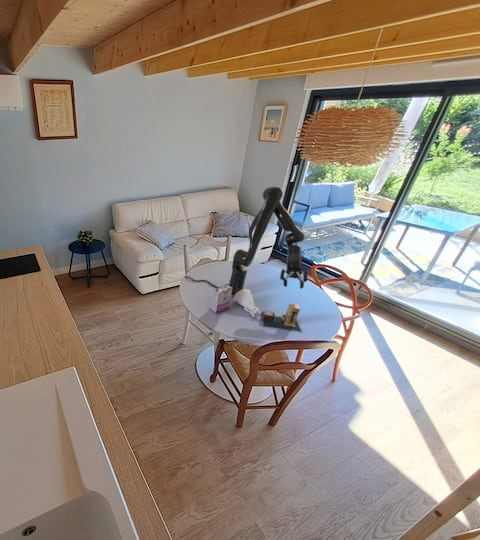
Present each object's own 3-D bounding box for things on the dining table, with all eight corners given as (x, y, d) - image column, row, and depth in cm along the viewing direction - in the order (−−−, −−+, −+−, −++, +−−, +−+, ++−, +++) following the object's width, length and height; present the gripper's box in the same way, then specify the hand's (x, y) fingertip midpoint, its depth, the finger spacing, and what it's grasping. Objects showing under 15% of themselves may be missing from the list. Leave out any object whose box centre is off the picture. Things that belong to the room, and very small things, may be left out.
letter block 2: (272, 322, 173) (274, 316, 171) (271, 317, 177) (273, 311, 174) (280, 323, 172) (283, 317, 170) (279, 318, 176) (281, 312, 173)
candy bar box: (223, 304, 189) (227, 284, 181) (228, 308, 185) (233, 287, 177) (210, 309, 185) (214, 288, 177) (215, 313, 181) (220, 292, 173)
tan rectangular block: (285, 323, 171) (291, 307, 165) (283, 318, 175) (289, 303, 169) (294, 325, 170) (300, 309, 164) (292, 320, 174) (298, 304, 168)
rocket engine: (263, 306, 171) (246, 286, 184) (247, 317, 174) (231, 296, 187) (268, 314, 178) (251, 293, 191) (252, 324, 181) (236, 303, 194)
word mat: (264, 326, 170) (264, 326, 170) (260, 312, 182) (260, 311, 181) (301, 332, 165) (301, 331, 165) (294, 317, 177) (294, 316, 177)
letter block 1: (263, 320, 174) (264, 314, 172) (261, 316, 178) (263, 310, 176) (271, 321, 173) (273, 315, 171) (269, 317, 177) (271, 311, 175)
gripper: (304, 265, 177) (303, 290, 173) (279, 262, 180) (278, 287, 176) (309, 261, 170) (309, 287, 166) (283, 258, 173) (282, 284, 169)
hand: (293, 287), depth 171 cm, fingers open, 8 cm apart
